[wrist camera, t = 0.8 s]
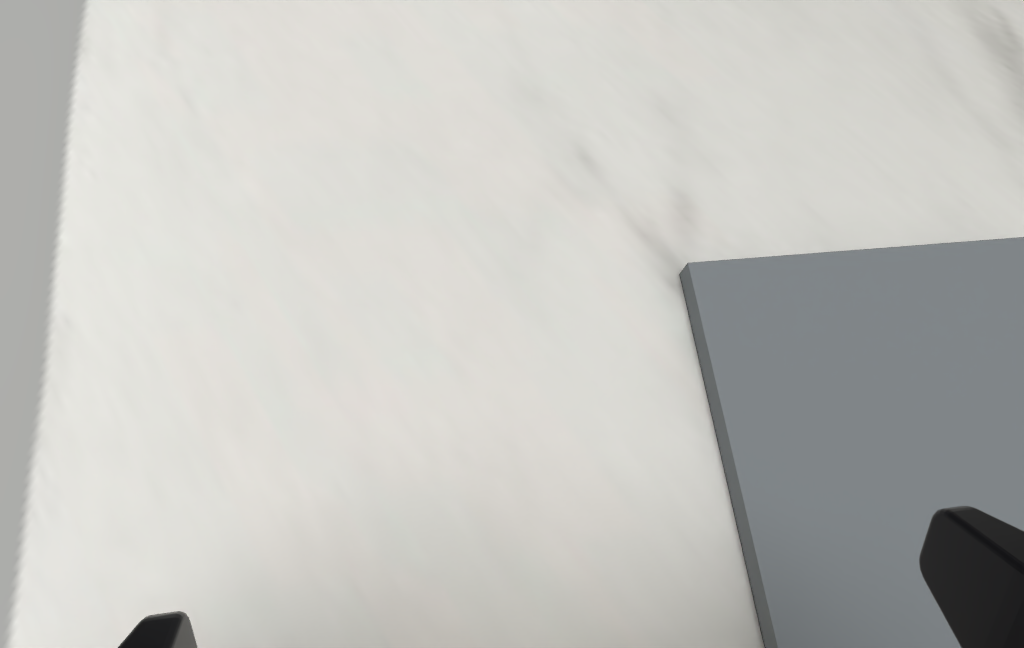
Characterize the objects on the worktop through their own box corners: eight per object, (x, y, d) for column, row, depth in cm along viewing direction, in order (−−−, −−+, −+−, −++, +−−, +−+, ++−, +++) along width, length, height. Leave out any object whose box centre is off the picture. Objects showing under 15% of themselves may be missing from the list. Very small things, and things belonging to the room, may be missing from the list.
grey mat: (1170, 626, 22) (1196, 626, 21) (775, 692, 20) (789, 695, 19) (1018, 247, 26) (1036, 236, 25) (679, 273, 24) (688, 263, 24)
